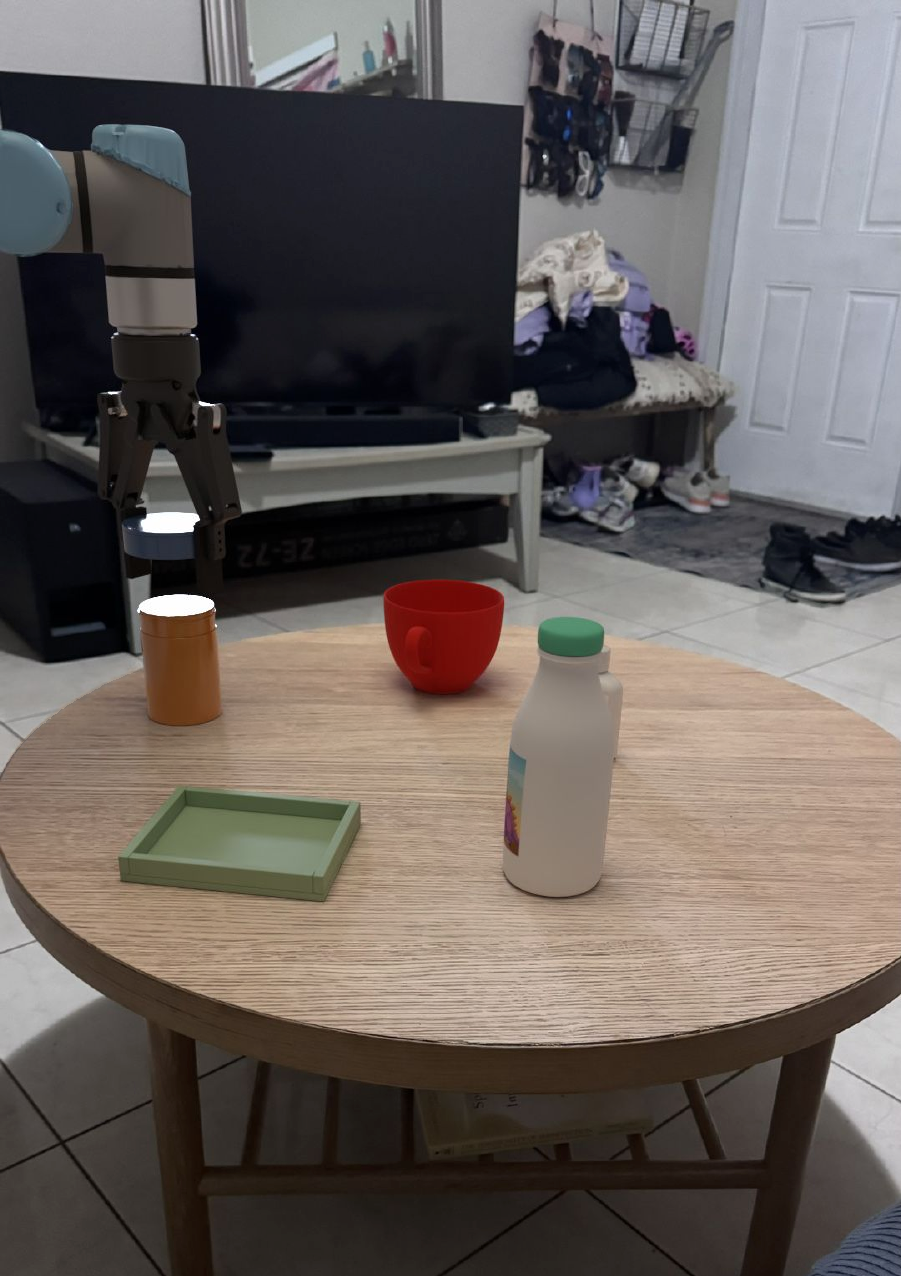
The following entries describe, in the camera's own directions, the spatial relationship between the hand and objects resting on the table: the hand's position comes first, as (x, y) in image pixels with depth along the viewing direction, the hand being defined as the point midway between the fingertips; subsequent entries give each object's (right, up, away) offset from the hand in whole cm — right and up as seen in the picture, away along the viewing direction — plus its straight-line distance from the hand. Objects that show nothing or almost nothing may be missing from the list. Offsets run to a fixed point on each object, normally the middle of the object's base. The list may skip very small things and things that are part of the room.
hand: (174, 583), depth 108 cm
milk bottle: (+35, -27, -22) cm, 49 cm away
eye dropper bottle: (+40, -17, -1) cm, 43 cm away
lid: (0, +5, -2) cm, 6 cm away
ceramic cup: (+25, -9, +14) cm, 30 cm away
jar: (0, -12, +6) cm, 13 cm away
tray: (+11, -25, -20) cm, 34 cm away
